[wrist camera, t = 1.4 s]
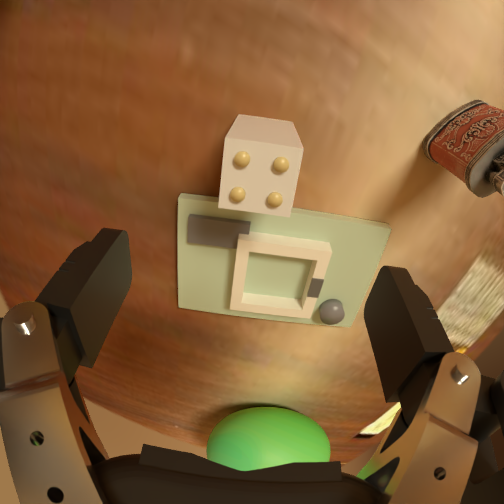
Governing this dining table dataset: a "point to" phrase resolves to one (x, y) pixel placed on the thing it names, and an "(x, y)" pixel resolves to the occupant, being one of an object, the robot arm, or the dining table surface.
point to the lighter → (471, 146)
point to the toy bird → (266, 439)
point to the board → (275, 262)
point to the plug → (260, 166)
